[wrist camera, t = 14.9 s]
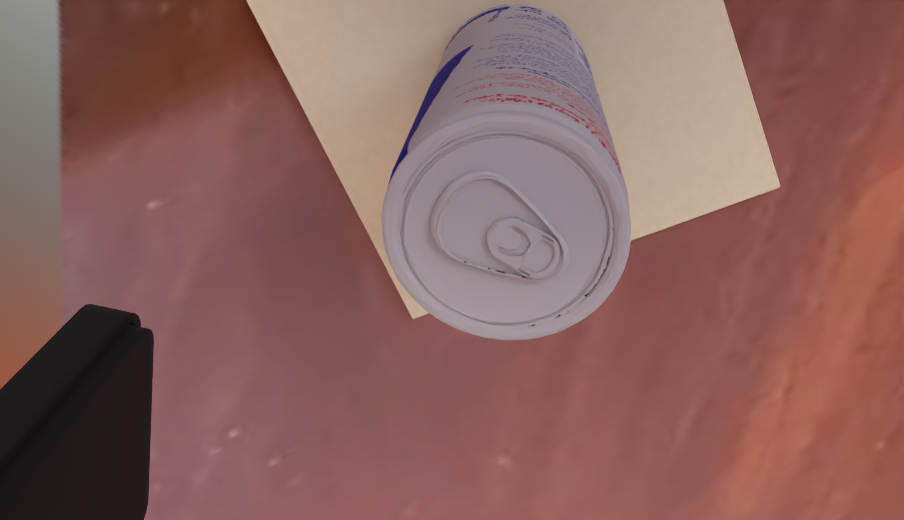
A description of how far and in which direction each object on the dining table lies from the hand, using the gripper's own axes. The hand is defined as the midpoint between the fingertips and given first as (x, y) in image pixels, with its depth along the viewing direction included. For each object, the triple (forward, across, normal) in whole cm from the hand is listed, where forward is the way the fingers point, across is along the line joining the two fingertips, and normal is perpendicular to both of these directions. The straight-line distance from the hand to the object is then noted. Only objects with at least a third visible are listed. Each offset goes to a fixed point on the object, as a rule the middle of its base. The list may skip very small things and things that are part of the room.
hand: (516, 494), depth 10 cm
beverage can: (+24, 0, +1) cm, 24 cm away
